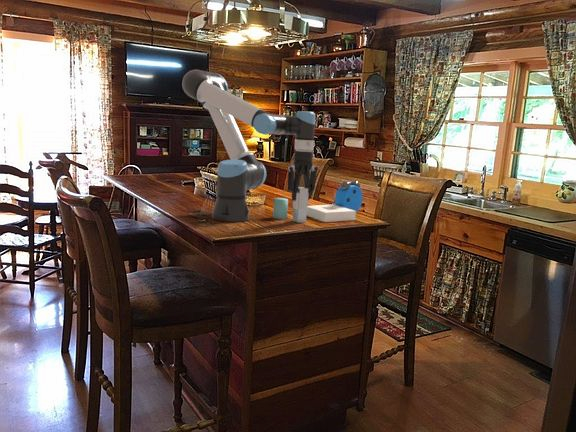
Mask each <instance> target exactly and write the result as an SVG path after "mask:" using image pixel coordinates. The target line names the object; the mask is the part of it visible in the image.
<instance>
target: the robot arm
mask: <svg viewBox="0 0 576 432" xmlns="http://www.w3.org/2000/svg"><path fill="white" fill-rule="evenodd" d="M181 85H182V86H181V87H182V90H183V91H184V93H185V94H186V95H187V96H188V97H190V98H192V99H194V100H195V101H197V102H199V103H201V105H202V107H203V108H204V109H206V110H208V112H209V115H210V117H211V119H212V121H213V123H214V126H215V127H216V129H217V132H218V134H219V136H220V138H221V139H220V140H222V142H223V146H224V148H225V150H226V152H227V154H228V157H229V159H226V160H225V159H224V160H222V161H220V162H219V163H217V170H216V174H217V175H216V176H217V178H216V179H217V180H216V181H217V182H216V200H215V203H214V205H213V208H212V212H211V218H212V219H213V220H215V221H219V222H230V223H232V222H233V223H235V222H236V223H237V222H245V221H248V220H250V212H249V211H250V210H249V208H248V204H247V199H246V198H247V197H246V195H247V191H249V190H256V189H257V188H260V187H261V186H262V185H264V183H265V182H266V178H267V169H266V167H265V165H264V164H263V163H262V162H261V161H258V160H257V157H256V155H255V153H253V152H250V151H249V148H248V146H247V144H246V140H245V139H244V137H243V135H242V133H241V130H240V128H239V126H238V124H237V122H236V119H237V120H239V121H241V122H243V123H245V124H246V125H249V126H250V127H252V128H254V130H255V131H256V132H257V133H259V134H262V135H290V136H291V135H292V136H294V138H295V139H294V153H293V164H292V165H288V166H286V168H287V190H288V191H290V192H291V200H292V209H293V208H295V209H298V196H299V193H297V190H298V187H300V182H301V178H302V176H303V183H304V187H305V188H308V200H307V208H308V206H309V201H310V198H311V197H310V196H311V193H312V192H313V191H315V189H316V179H317V171H318V170H319V167H317V166H315V165H313V159H314V157H313V156H314V152H313V151H314V144H315V128H316V113H315V112H313V111H303V110H301V111H300V110H298V111H297V112H296V113H295V114H296V115H286V114H273V113H272V114H271V113H269V112H267V111H265V110H263V109H262V108H260V107H258V106H255V105H254V104H252V103H250V102H248V101H247V100H244V99H243V98H241V97H239V96H236V95H234V94H233V93H230V92H228V90H229V85H228V82H227V81H226V78H224V77H223V76H222V75H221V74H219V73H217V72H214V71H205V70H200V69H192V70H189V71H188V72H186V73H185V74H184V76H183V78H182V83H181Z"/></svg>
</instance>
